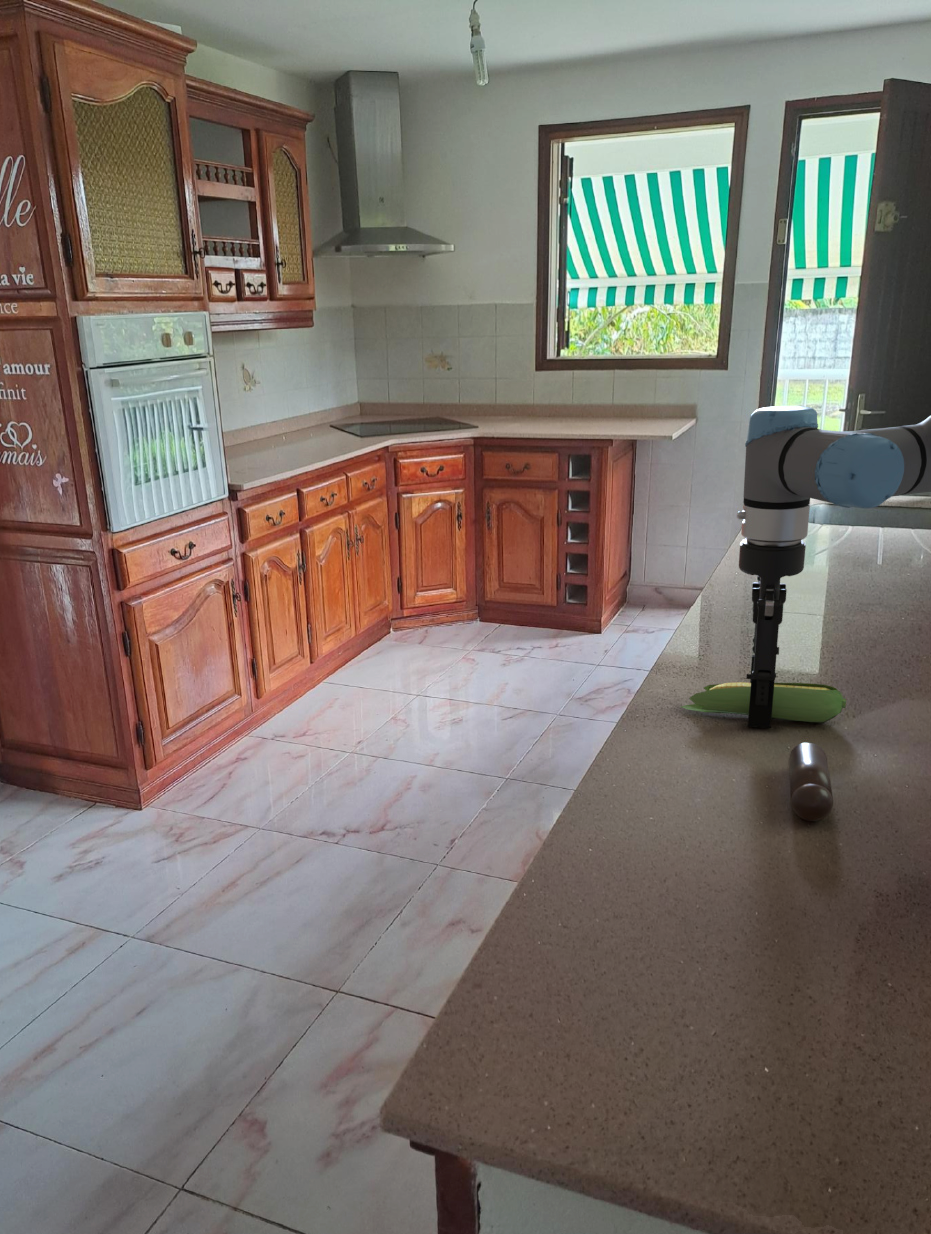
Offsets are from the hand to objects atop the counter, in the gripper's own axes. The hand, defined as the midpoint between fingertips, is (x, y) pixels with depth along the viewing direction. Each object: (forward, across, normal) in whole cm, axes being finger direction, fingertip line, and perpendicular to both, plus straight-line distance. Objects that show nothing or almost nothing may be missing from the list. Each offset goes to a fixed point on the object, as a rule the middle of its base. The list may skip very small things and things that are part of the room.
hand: (759, 713), depth 125 cm
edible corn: (0, 0, 0) cm, 0 cm away
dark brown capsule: (0, +22, +5) cm, 23 cm away
